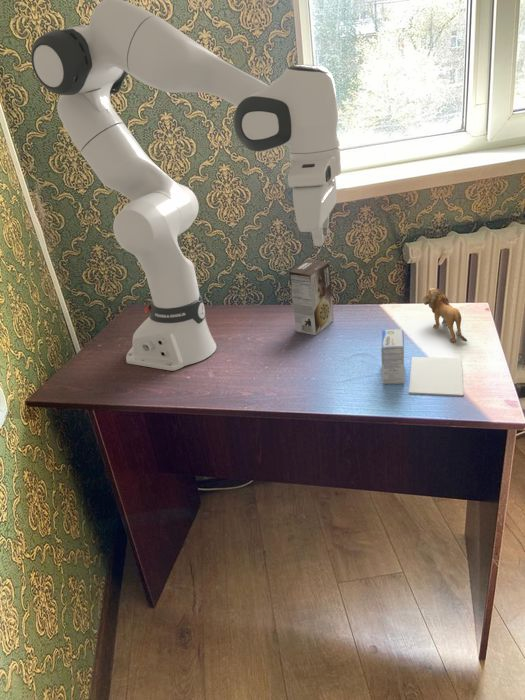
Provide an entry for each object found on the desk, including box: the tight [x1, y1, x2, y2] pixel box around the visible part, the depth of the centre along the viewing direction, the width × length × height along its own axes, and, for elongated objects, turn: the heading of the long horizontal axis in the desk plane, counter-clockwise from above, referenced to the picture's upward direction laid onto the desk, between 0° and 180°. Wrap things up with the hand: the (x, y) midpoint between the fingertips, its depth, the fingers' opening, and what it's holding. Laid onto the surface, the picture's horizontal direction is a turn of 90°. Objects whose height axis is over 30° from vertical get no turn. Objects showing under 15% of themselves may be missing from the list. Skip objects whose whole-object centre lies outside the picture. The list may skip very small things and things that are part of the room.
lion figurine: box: [421, 287, 468, 343], centre depth 123 cm, size 15×5×9 cm, turn 20°
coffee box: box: [288, 259, 335, 336], centre depth 133 cm, size 9×6×16 cm
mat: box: [408, 356, 464, 397], centre depth 109 cm, size 10×14×1 cm
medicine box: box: [380, 328, 405, 385], centre depth 110 cm, size 8×4×9 cm, turn 168°
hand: (321, 241), depth 102 cm, fingers open, 3 cm apart
